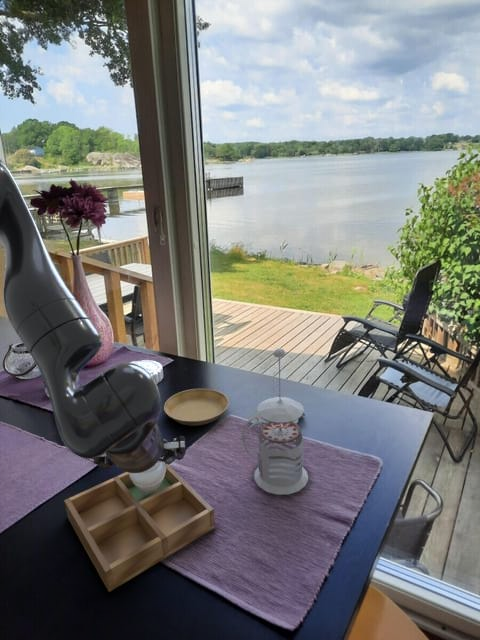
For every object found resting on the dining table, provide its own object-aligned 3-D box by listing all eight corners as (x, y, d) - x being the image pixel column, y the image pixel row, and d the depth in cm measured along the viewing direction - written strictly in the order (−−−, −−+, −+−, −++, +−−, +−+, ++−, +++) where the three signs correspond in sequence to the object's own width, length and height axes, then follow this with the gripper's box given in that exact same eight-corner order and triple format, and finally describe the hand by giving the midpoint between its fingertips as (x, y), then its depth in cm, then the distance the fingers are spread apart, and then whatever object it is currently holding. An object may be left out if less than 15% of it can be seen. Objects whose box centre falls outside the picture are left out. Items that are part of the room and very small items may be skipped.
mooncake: (165, 368, 125) (164, 357, 124) (160, 388, 114) (159, 376, 112) (123, 371, 125) (121, 359, 123) (113, 391, 113) (112, 378, 112)
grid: (109, 592, 59) (105, 572, 58) (67, 518, 72) (63, 500, 71) (215, 527, 69) (214, 509, 68) (162, 472, 82) (160, 456, 81)
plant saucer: (187, 393, 111) (186, 383, 110) (240, 404, 104) (239, 394, 104) (151, 423, 98) (150, 412, 97) (209, 437, 92) (208, 427, 91)
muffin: (167, 473, 79) (164, 439, 76) (168, 497, 73) (164, 461, 71) (132, 478, 78) (127, 444, 75) (130, 502, 72) (125, 466, 70)
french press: (315, 490, 76) (318, 357, 68) (249, 500, 74) (244, 365, 66) (299, 455, 85) (299, 335, 77) (240, 464, 83) (234, 341, 75)
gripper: (183, 408, 63) (188, 433, 78) (80, 419, 61) (104, 442, 76) (187, 462, 60) (191, 478, 75) (78, 475, 58) (104, 488, 73)
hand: (147, 460), depth 75 cm, fingers closed on muffin, 6 cm apart
